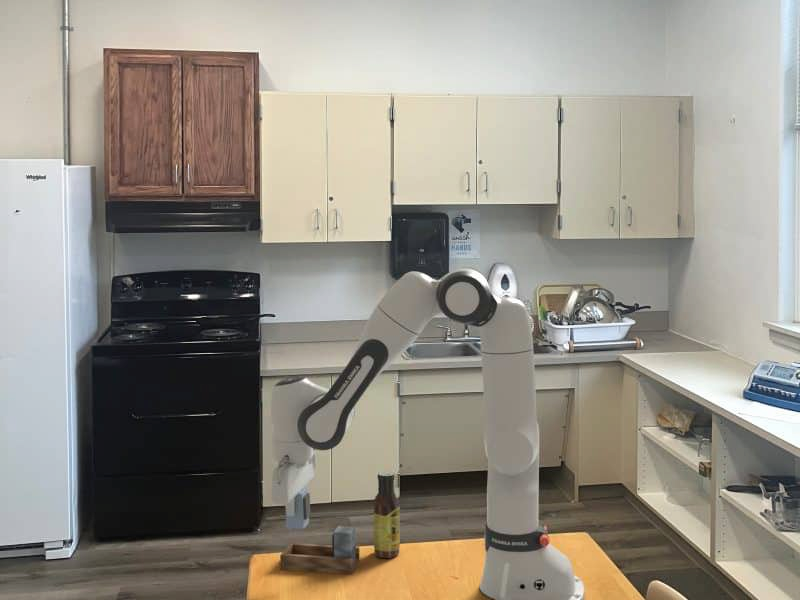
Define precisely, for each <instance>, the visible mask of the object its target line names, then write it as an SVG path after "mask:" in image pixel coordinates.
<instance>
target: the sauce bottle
mask: <svg viewBox="0 0 800 600" xmlns="http://www.w3.org/2000/svg"><path fill="white" fill-rule="evenodd" d="M377 481H378V482H377V483H378V484H377V485H378V488H377V491H378V492H377V495H376V496H374V500H373V513H372V515H373V548H374V555H375V556H376V557H379V558H381V559H390V558H394V557H396V556H398V555H399V554H400V547H401V546H400V545H401V543H400V542H401V541H400V540H401V539H400V534H401V531H400V527H401V525H400V521H401V520H400V518H401V517H400V504H399V500H398V498H397V495H396V492H395V482H394V481H395V473H394V472H393V471H387V470H386V471H380V472H378V473H377Z"/></svg>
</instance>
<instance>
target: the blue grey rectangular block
mask: <svg viewBox="0 0 800 600" xmlns="http://www.w3.org/2000/svg"><path fill="white" fill-rule="evenodd" d="M308 491H309V490H308V487H305V488H303V489H302V490H301V491H300V492H299V493H298V494H297V495H296V496H295V500H294V505H295V506H296V513H295V514H294V516H287V514H286V513H285V526H286V529H292V530H293V529H295V530H296V529H297V530H305V528H306V527H307V526H308V524H309V523H310V516H311V495H310V492H308ZM284 507H285V506H284ZM284 510H285V512H286V507H285V509H284Z"/></svg>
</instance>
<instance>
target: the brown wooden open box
mask: <svg viewBox="0 0 800 600" xmlns="http://www.w3.org/2000/svg"><path fill="white" fill-rule="evenodd" d="M331 536H332V537H331V543H332V544H330V545H329V544H316V543H303V542H302V543H299V542H290V543H289V544H288V545H287V546H286V547H285V549H283V551H282V552H281V553H280V554H279V557H280V558H279V559H280V560H279V561H280V562H279V563H280V565H279V566H280V570H284V569H289V570H288V571H303V572H312V573H314V572H316V573H327V574H328V573H329V574H340V575H341V574H342V575H353V573H354V571H355V570H356V568H357V566H358V564H359V563H360V558H361V557H360V546H359V547H358V546H356V526H343V525H338V526H337V527H336V529H335V530H334V531H333V533H332V535H331Z"/></svg>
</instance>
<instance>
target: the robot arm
mask: <svg viewBox="0 0 800 600" xmlns="http://www.w3.org/2000/svg"><path fill="white" fill-rule="evenodd" d="M370 314H371V315H370V316H369V318H368V320H367V321H366V324H365V325H364V328H363V330H362V332H361V335H360V337H359V339H358V342H357V344H356V346H355V350H354V352H353V353H352V356H351V357H350V360H349V361H348V363H347V365H346V366H345V367H344V368H343V370H342V372H341V373H340V375H339V376H337V378H336V380H335V381H334V382H333V384H332V385H331V386H330V388H329V389H328V388H326V387H324V386H323V387H322V386H320V385H319V384H316V383H314V382H313V381H311V380H310V379H309V378H308V377H306V376H302V375H301V376H299V375H298V376H291V377H287V378H284V379H281V380H280V381H278V382H277V383H275V385H274V386H273V388H272V391H271V399H270V404H271V405H270V415H271V416H270V418H271V419H270V420H271V422H272V425H273V429H272V430H273V431H272V436H271V442H272V443H271V444H272V459H273V461H275V462H277V466H276V467H274V468H273V471H272V473H271V474H272V475H271V500H272V503H273V504H274V505H279V506H280V505H284V507H286V511H285V515H286V514H287V516H294V514H295V513H296V506H295V505H294V500H295V496H296V495H297V494H298V493H299V492H300V491H301V490H302V489H303V488H306V486H307V485H308V484H309V483H310V482H311V480H313V479H314V477H315V471H316V458H317V457H316V451H329V450H331V449H334V448H335V447H337V446H338V445H339V444H341V442H342V440H343V438H344V435H345V434H346V432H347V430H348V428H349V427H350V425H351V424H352V422H353V420H354V417H355V412H356V411H355V406H356V405H357V404H358V402H359V401H360V399H361V398H362V397H363V396H364V394H365V392H366V391H367V389H368V388H369V387H370V385H371V384H372V383H373V381H374V380H375V379H376V378H377V377H378V376H379V375H380V374H381V373H382V372H383V371H385V369H387V368H388V367H389V366H390V365H392V364H393V363H394V362H395V361H396V360H397V359H398V358H399V357H401V356H402V355H403V354H404V353H405V352H406V351H407V350H408V349H409V348H410V347H411V345H413V344H414V342H415V341H416V340H417V339H418V337H420V335H421V333H422V331H423V330H425V329H424V328H425V327H426V326H427V325H428V323H429V322H431V320H432V319H433V318H434V317H436V316H438V315H441V314H443V315H444V316H445V317H446V318H448V319H449V320H451V321H452V322H456V323H458V324H463V325H468V326H471V327H475V328H477V329H478V333H479V339H480V354H481V368H482V369H481V370H482V385H483V428H484V429H483V433H484V437H483V438H484V450H485V454H486V457H487V460H488V467H487V482H486V483H487V484H486V485H487V486H486V523H485V527H484V533H483V534H484V537H483V538H484V539H483V540H484V549H485V559H484V567H483V571H482V577H481V579H480V583H479V589H480V591H481V593H483V594H484V595H485V596H487V597H489V598H491V599H494V600H584V599H585V595H586V594H585V593H586V592H585V585H584V582H583V580H581V578H580V577H578V575H575V573H574V569H573V566H572V564H571V561H570V559H569V558H568V557H567V556H566V555H565V554H564V553H563V552H561V551H560V550H558V549H557V548H555V546H553V545H551V543H550V536H549V532H548V531H549V530H547V526H546V525H544V526H542V525H541V524H539V490H540V489H539V487H540V486H539V481H540V480H539V479H540V478H539V476H540V475H539V473H540V472H539V471H540V470H539V469H540V427H539V424H538V419H537V418H538V416H537V394H536V393H537V390H536V389H537V388H536V373H535V371H536V370H535V355H534V342H533V341H534V340H533V332H532V326H531V321H530V317H529V314H528V310H527V306H526V305H525V304H524V303H523V302H522V301H521V300H519V299H517V298H514V297H510V296H509V297H508V296H497V295H495V294H494V293H493V292H492V289H491V287H490V284H489V281H488V280H487V278H486V276H484V274H483V273H481V272H480V271H479V270H477V269H475V268H472V267H459V268H456V269H453V270H451V271H449V272H447V273H444V274H442V275H440V276H438V277H437V278H435V279H434V278H433V277H431V276H430V275H427V274H426V273H424V272H420V271H409V272H406V273H404V274H403V275H402V277H400V278H399V279H398V280H396V282H395V283H394V284H393V285H392V286H391V288H390V289H389V290H388V291H387V292H386V293H385V294H384V295H383V297H382V298H381V300H379V302H378V304H377V305H376V306H375V308H374V309H373V311H372V312H371V313H370Z"/></svg>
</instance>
